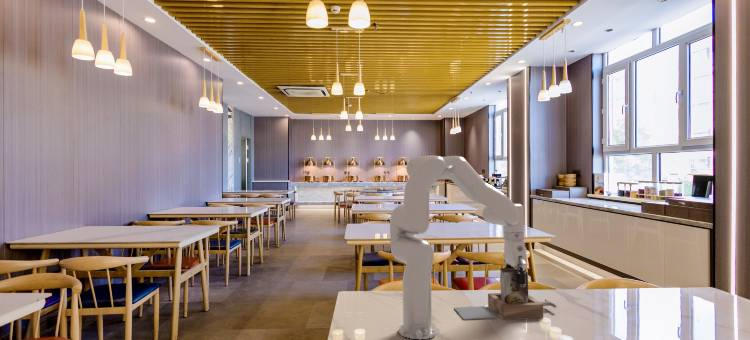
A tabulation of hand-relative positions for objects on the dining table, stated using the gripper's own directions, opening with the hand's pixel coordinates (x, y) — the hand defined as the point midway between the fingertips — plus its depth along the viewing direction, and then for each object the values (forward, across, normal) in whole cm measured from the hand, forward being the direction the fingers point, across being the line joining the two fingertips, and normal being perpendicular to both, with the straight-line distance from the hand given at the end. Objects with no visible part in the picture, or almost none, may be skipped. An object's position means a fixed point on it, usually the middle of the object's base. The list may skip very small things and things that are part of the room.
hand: (515, 280), depth 152 cm
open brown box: (+12, 0, -3) cm, 12 cm away
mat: (+12, 0, +17) cm, 20 cm away
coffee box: (+12, 0, +1) cm, 12 cm away
